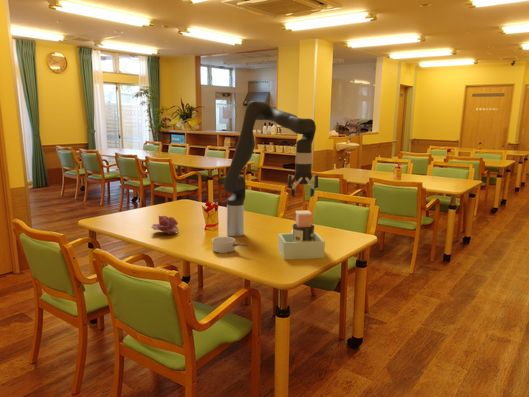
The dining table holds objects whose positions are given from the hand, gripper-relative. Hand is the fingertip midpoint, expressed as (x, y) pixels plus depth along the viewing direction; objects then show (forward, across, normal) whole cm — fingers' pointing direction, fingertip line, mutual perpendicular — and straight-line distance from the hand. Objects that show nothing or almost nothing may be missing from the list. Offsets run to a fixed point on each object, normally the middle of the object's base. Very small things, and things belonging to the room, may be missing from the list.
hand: (302, 196), depth 194 cm
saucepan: (+28, -34, +5) cm, 44 cm away
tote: (+28, 0, -1) cm, 28 cm away
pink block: (+14, +1, -1) cm, 14 cm away
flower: (+29, -68, +42) cm, 85 cm away
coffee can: (+28, +1, -2) cm, 28 cm away
